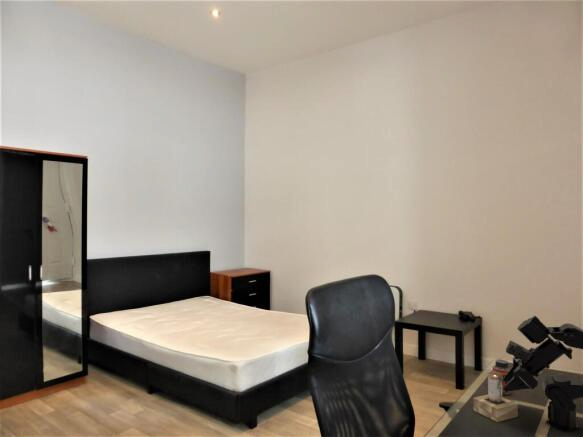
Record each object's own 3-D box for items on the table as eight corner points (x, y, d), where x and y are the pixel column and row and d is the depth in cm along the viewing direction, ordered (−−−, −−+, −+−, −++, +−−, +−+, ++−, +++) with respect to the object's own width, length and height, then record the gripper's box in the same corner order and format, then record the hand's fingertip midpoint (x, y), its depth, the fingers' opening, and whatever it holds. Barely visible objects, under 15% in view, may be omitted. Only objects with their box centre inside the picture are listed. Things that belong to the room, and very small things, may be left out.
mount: (517, 416, 131) (517, 403, 131) (497, 422, 127) (497, 408, 127) (493, 405, 139) (493, 393, 139) (473, 410, 135) (473, 397, 135)
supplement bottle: (492, 393, 148) (491, 362, 149) (492, 388, 154) (492, 357, 154) (511, 397, 146) (510, 364, 146) (511, 391, 151) (510, 359, 151)
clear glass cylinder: (506, 414, 132) (505, 375, 132) (496, 417, 130) (496, 377, 130) (494, 408, 136) (494, 371, 136) (484, 411, 134) (484, 373, 134)
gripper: (521, 327, 138) (485, 356, 143) (524, 341, 122) (482, 373, 126) (549, 354, 134) (511, 383, 139) (556, 372, 118) (512, 404, 123)
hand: (504, 385), depth 132 cm, fingers open, 9 cm apart
